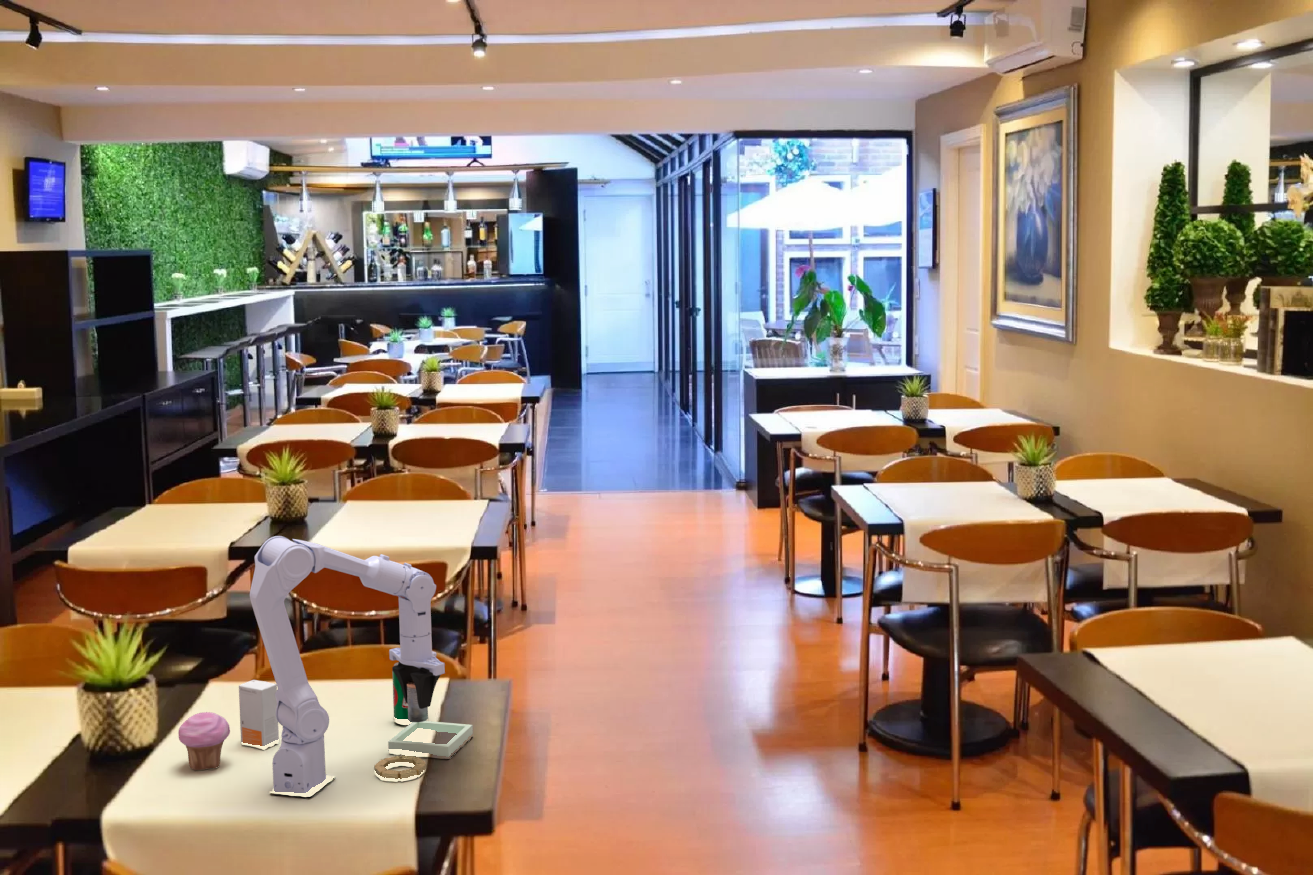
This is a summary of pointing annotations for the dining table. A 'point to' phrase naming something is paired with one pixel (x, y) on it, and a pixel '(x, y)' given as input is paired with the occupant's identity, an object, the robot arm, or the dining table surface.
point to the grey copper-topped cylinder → (415, 705)
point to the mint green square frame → (432, 748)
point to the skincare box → (258, 712)
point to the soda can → (399, 699)
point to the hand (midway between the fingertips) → (418, 704)
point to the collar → (416, 770)
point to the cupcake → (204, 739)
